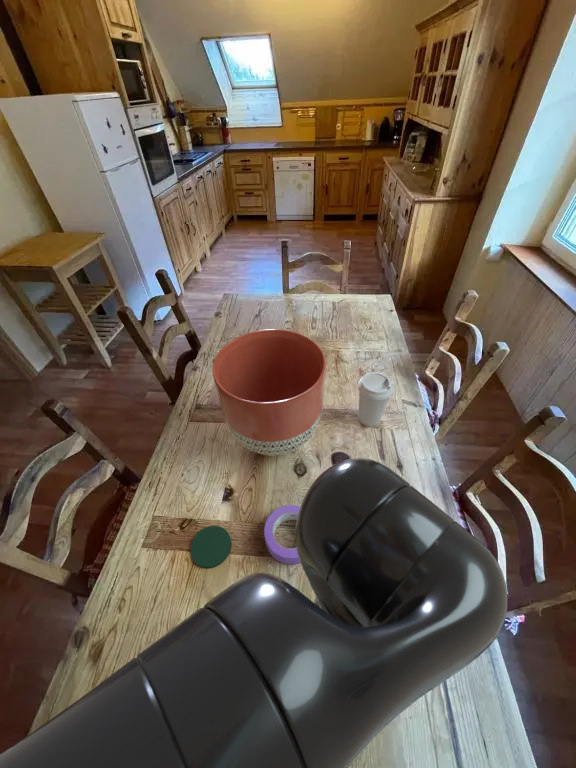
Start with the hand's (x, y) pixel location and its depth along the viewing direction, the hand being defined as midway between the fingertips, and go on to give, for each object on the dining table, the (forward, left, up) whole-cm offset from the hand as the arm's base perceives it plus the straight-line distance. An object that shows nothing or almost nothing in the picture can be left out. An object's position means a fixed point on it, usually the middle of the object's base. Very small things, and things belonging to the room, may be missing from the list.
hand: (340, 654), depth 41 cm
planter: (+50, +23, -27) cm, 62 cm away
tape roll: (+22, +12, -27) cm, 37 cm away
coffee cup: (+61, -3, -27) cm, 67 cm away
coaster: (+16, +29, -27) cm, 43 cm away
